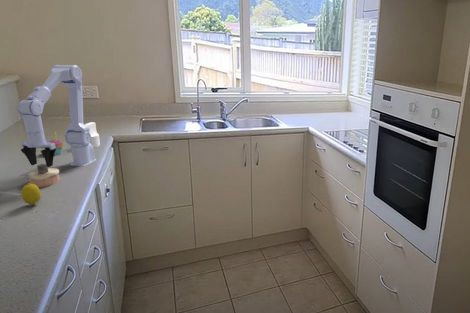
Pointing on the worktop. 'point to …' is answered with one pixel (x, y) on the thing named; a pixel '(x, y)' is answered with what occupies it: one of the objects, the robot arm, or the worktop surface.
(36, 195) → the lemon
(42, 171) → the lid
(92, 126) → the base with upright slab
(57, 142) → the cupcake
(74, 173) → the worktop surface
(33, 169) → the mat
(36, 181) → the bowl
